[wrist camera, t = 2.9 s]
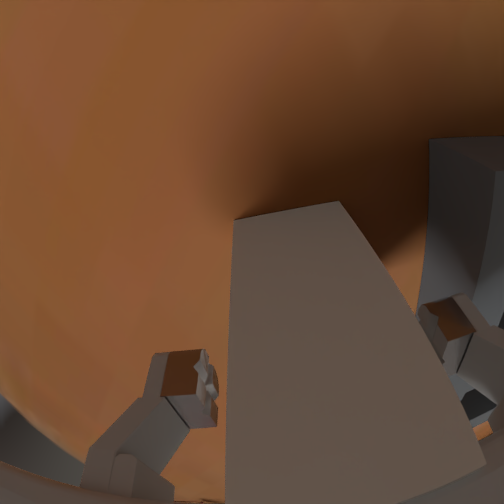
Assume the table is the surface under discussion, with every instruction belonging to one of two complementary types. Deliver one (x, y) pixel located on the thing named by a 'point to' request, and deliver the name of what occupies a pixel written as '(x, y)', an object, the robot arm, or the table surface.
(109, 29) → the table surface
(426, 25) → the table surface
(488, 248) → the socket block
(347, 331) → the plug
